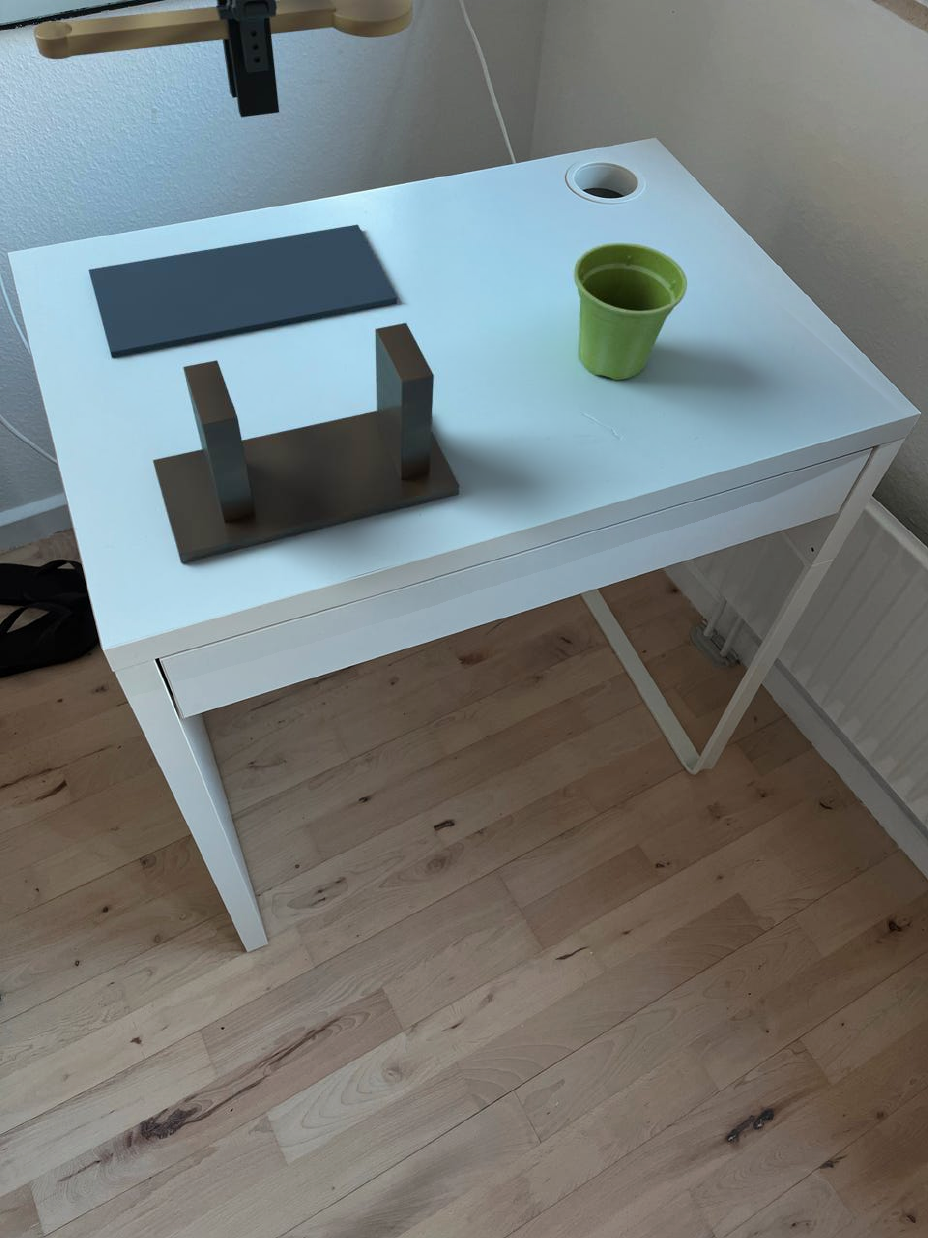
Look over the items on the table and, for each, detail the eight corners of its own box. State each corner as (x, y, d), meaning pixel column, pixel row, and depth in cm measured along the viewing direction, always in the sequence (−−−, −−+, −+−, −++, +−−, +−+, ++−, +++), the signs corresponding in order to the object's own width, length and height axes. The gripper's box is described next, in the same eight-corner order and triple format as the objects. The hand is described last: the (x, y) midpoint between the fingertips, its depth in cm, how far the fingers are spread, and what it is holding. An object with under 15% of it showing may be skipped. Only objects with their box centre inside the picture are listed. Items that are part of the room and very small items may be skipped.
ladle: (44, 75, 58) (38, 55, 57) (33, 29, 61) (27, 9, 60) (424, 32, 64) (424, 12, 63) (396, -8, 67) (396, -27, 66)
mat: (111, 357, 81) (110, 352, 81) (89, 274, 87) (88, 269, 87) (397, 302, 88) (397, 297, 87) (358, 229, 94) (357, 224, 93)
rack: (181, 563, 69) (149, 459, 60) (155, 468, 74) (121, 358, 65) (459, 494, 75) (468, 388, 66) (417, 410, 80) (420, 301, 71)
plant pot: (597, 407, 81) (617, 324, 74) (539, 342, 86) (553, 258, 79) (683, 375, 84) (709, 293, 77) (622, 314, 89) (643, 231, 82)
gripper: (307, -336, 44) (335, 151, 63) (235, -410, 52) (280, 45, 71) (144, -333, 42) (224, 167, 62) (95, -411, 50) (180, 56, 69)
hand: (254, 101), depth 66 cm, fingers closed on ladle, 2 cm apart
